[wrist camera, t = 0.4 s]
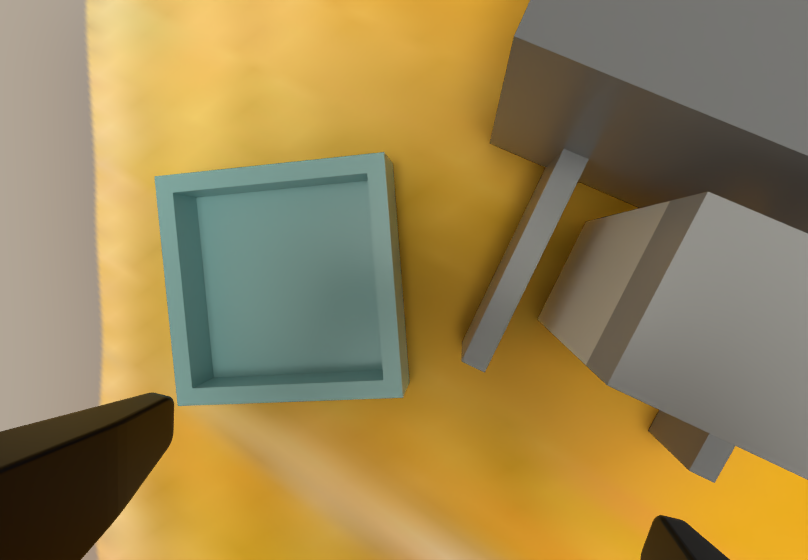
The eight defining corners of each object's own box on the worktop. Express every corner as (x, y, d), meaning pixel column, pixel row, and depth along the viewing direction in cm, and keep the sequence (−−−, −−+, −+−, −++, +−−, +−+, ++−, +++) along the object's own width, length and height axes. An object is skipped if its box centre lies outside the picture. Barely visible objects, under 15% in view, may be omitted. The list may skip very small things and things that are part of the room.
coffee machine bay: (727, 468, 21) (998, 692, 11) (409, 316, 23) (358, 376, 12) (927, 115, 20) (1502, -54, 9) (567, -25, 21) (676, -320, 10)
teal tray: (409, 382, 23) (402, 397, 21) (206, 390, 24) (177, 405, 22) (392, 163, 23) (383, 152, 20) (186, 184, 24) (154, 176, 21)
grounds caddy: (638, 366, 22) (812, 481, 11) (537, 319, 22) (607, 385, 11) (690, 267, 21) (929, 284, 10) (585, 221, 22) (708, 191, 11)
